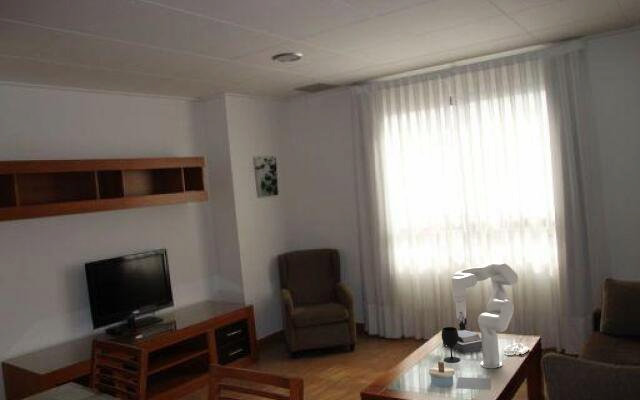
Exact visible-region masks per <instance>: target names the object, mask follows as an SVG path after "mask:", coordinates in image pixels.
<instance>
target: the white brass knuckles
mask: <svg viewBox="0 0 640 400" xmlns="http://www.w3.org/2000/svg"><path fill="white" fill-rule="evenodd" d="M518 345H521V346H518ZM519 347H523V349H522V348H519ZM530 349H531V350H532V348H531V347H529V346H526V345H524V344H523V343H521V342H520V343H519V342H516V343H512V344H508V345H506V346H505V347H504V348H503V354H504V353H507V354H509V353H514V352H515V353H516V352H520V353H521V355H522V354H523V353H524V352H526V351H528V350H530ZM517 350H519V351H517Z"/></svg>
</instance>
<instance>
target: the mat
mask: <svg viewBox="0 0 640 400" xmlns="http://www.w3.org/2000/svg"><path fill="white" fill-rule="evenodd" d="M491 385H492V379H491V377H489V378H487V377H484V378H483V377H461V376H460V377H459V376H458V377H457V381H456V389H462V390H463V389H465V390H466V389H467V390H489V391H490V390H491V388H492V387H491Z"/></svg>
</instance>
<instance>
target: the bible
mask: <svg viewBox="0 0 640 400" xmlns="http://www.w3.org/2000/svg"><path fill="white" fill-rule="evenodd" d="M458 337H459V338H458V342H457V344H456V345H455V346H454V347H452V350H453V349H454V350H453V351H456V350H457V351H456V352H458V353H460V354H469V352H470V353H473V351H474V352H477V350H479V351H482V350H481V349H482V341H481V336H480V335H479V333H477V332H475V331H473V332H472V331H470V330H459V331H458ZM443 344H444V342H443V341H442V345H443ZM443 346H445V344H444V345H443Z"/></svg>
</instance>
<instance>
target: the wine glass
mask: <svg viewBox="0 0 640 400" xmlns="http://www.w3.org/2000/svg"><path fill="white" fill-rule="evenodd" d="M458 332H459V331H458V328H456V327H455V326H454V327H453V326H447V327H443V328H442V329H441V340H442V343H443V342H444V344H445V345H447V346H448V347H447V346H446V347H447V348H448V349H449V350H450V356H448V357H444V358H443V362H444V363H447V364H455V363H459V362H460V361H461V358H460V357H456V356H453V349H452V347H454V346H455V345H456V344H457V342H458V338H459V337H458ZM445 345H444V346H445Z"/></svg>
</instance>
